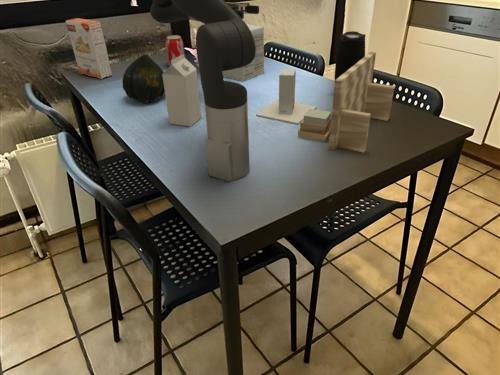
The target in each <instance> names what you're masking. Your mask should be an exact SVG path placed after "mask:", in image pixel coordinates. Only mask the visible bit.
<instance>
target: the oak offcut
mask: <svg viewBox="0 0 500 375" xmlns="http://www.w3.org/2000/svg"><path fill="white" fill-rule="evenodd" d="M303 122H304V119H303V120H302V121H301V122H300V123H299V129H300V131H303V132H309V133H315V134H320V135H325V134H326V133H327V132H328V130H329V129H330V128H331V118H330V120H329V122H328V123H327V124H326V126H322V125H315V124H309V123H303Z"/></svg>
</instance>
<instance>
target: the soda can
mask: <svg viewBox="0 0 500 375" xmlns="http://www.w3.org/2000/svg"><path fill="white" fill-rule="evenodd" d="M165 46H166V47H165V48H166V50H165V51H166V56H167V63H168V65H169V66H168V67H170V66H171V60H173V59H175V58H177V57H179V56H181V55H183V54H184V55H185V48H184V42H183V39H182V38H181V35H179V34H176V35H175V34H174V35H173V34H172V35H168V36H166V40H165Z"/></svg>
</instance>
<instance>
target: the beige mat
mask: <svg viewBox="0 0 500 375" xmlns="http://www.w3.org/2000/svg"><path fill="white" fill-rule="evenodd" d="M309 109H314V110H318V107H317V106H315V105H309V104H303V103H299V102H295V103H294V109H293V112H292V114H281V113H279V99H276V100H275V101H273V102H272V103H270V104H269V105H267V106H266V107H264V108H263V109H262V110H260V111H258V113H256V114H255V116H256V117H259V118H264V119H269V120H273V121H278V122H284V123H289V124H293V125H297V126H298V125H300V122H301V121H302V120H303V119H304V115H305V114H306V112H307V111H308V110H309Z"/></svg>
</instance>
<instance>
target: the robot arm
mask: <svg viewBox="0 0 500 375" xmlns="http://www.w3.org/2000/svg"><path fill="white" fill-rule="evenodd" d="M149 13H150V16H151V18H153V20H154V21H155V22H157V23H160V24H172V23H175V22H180V21H182V20H186V21H187V20H188V21H194V22H200V23H202V25H200V26H199V27H198V28H197V30H196V33H195V49H196V50H195V51H196V56H197V63H198V70H199V74H200V75H199V76H200V85H201V90H202V93H203V99H204V108H205V109H204V110H205V111H204V112H205V120H206V130H207V132H206V133H207V138H206V139H205V148H206V157H207V158H206V160H207V168H208V175H209V176H210V177H212V178H217V179H220V180H222V181H226V182H229V183H231V182H233V181H235V180H238V179H241V178H244V177H246V176H247V175H248V174H249V173H250V167H251V166H250V145H249V144H250V142H249V141H250V140H249V138H250V137H249V116H248V115H249V114H248V113H249V112H248V110H249V108H248V107H249V106H248V91H247V88H246V87H245V86H244V85H243V84H241V83H238V82H234V81H230V80H226V79H224V76H223V73H222V71H227V70H232V69H236V68H241V67H244V66H247V65H249V64H250V63H251V62H252V61H253V60H254V58H255V54H256V46H255V41H254V38H253V35H252V33H251V31H250V29H249V28H248V26H247V25H246V24H247V23H246V21H244V20H243V19H245V14H247V15H248V14H250V15H258V14H260V6H259V5H254V4H253V5H252V4H250V2H235V1H232V2H230V1H229V2H226V1H225V0H152V4H151V7H150V9H149Z"/></svg>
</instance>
